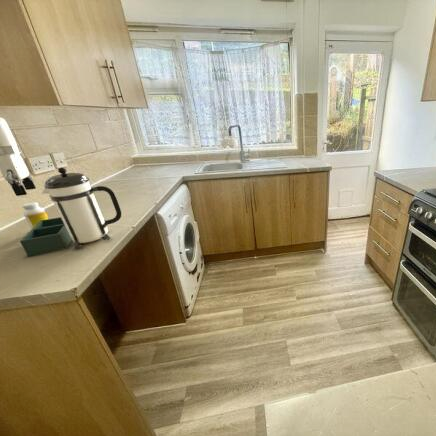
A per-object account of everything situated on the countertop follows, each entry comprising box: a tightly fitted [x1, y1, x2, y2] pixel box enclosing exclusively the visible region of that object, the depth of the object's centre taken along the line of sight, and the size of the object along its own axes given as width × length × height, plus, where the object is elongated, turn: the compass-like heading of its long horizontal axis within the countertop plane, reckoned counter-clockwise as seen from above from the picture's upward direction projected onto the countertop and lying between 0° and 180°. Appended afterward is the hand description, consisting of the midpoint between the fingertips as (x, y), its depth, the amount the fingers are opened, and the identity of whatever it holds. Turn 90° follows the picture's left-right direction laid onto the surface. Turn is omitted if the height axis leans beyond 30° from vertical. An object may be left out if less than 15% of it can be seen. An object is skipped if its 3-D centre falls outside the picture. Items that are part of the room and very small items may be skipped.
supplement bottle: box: [22, 201, 50, 230], centre depth 108 cm, size 7×7×13 cm
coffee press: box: [41, 167, 122, 250], centre depth 95 cm, size 17×16×30 cm
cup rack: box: [19, 216, 72, 257], centre depth 100 cm, size 11×21×6 cm, turn 29°
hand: (26, 192), depth 103 cm, fingers open, 9 cm apart
